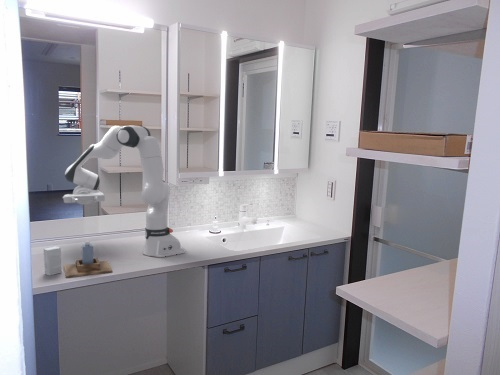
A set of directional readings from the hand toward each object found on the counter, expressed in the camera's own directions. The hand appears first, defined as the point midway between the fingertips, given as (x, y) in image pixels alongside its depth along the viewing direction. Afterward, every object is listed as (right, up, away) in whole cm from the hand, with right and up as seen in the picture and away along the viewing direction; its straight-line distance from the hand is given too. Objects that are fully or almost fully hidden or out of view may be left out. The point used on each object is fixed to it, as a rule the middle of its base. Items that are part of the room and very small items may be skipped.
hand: (85, 200), depth 213 cm
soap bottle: (+8, -32, -16) cm, 37 cm away
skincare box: (-6, -33, -22) cm, 41 cm away
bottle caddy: (+7, -33, -16) cm, 37 cm away
